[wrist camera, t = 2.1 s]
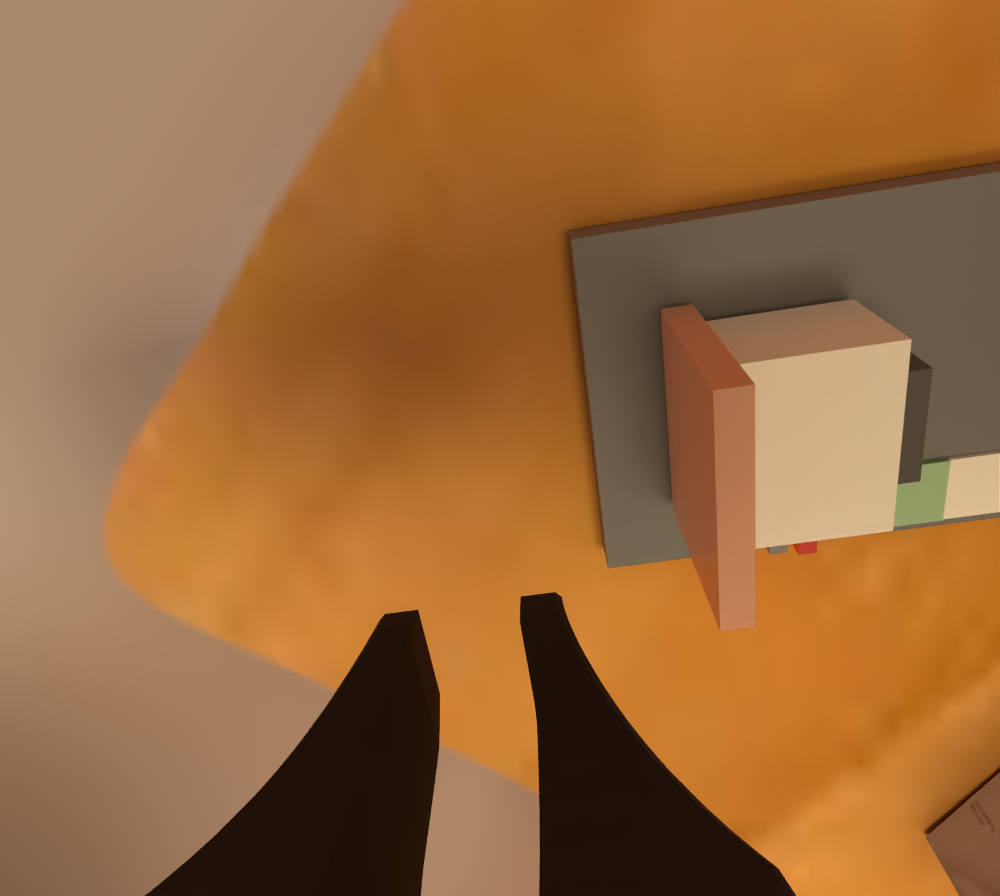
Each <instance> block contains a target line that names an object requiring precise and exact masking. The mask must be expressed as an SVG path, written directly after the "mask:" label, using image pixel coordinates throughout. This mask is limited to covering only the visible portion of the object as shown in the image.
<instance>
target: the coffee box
mask: <svg viewBox="0 0 1000 896" xmlns="http://www.w3.org/2000/svg"><path fill="white" fill-rule="evenodd" d="M927 840H928V842H929V843H930V845H931V847H932V849H933V851H934V853H935V854H936V856H937V857H938V859H939V861H940V863H941V864H942V866H943V868H944V870H945V871H946V873H947V875H948V877H949V878H950V880H951V882H952V884H953V886H954V887H955V889H956V891H957V893H958V894H959V896H1000V772H999V773H998V774H997V775H996V776H995V777H993V778H992V779H991V780H990V781H989V782H988V783H987V784H985V785H984V786H983V787H982V788H981V789H980V790H979V791H977V792H976V793H975V794H974V795H973V796H972V797H971V798H969V799H968V800H967V801H966V802H965V803H964V804H963V805H961V806H960V807H959V808H958V809H957V810H956V811H955V812H954V813H952V814H951V815H950V816H949V817H948V818H947V819H946V820H944V821H943V822H942V823H941V824H940V825H939V826H937V827H936V828H935V829H934V830H933V831H932V832H931V833H930V834H928V835H927Z"/></svg>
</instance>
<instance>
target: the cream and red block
mask: <svg viewBox="0 0 1000 896" xmlns="http://www.w3.org/2000/svg"><path fill="white" fill-rule="evenodd" d="M661 325H662V342H663V358H664V375H665V391H666V407H667V424H668V440H669V457H670V473H671V490H672V506H673V511H674V514H675V517H676V519H677V522H678V524H679V527H680V529H681V532H682V535H683V537H684V540H685V542H686V545H687V547H688V550H689V552H690V555H691V558H692V560H693V563H694V565H695V568H696V570H697V573H698V576H699V578H700V581H701V583H702V586H703V588H704V591H705V594H706V596H707V599H708V601H709V604H710V606H711V609H712V612H713V614H714V617H715V619H716V622H717V624H718V627H719V630H720V631H726V630H734V629H742V628H750V627H756V549H758V548H767V550H768V552H769V554H777V553H785V552H788V545H789V544H796V543H804V542H812V541H819V540H827V539H835V538H842V537H850V536H858V535H866V534H873V533H881V532H889V531H893V526H894V516H895V506H896V495H897V485H898V484H905V483H912V482H919V481H920V479H921V470H922V462H923V453H924V444H925V435H926V426H927V417H928V408H929V399H930V391H931V382H932V373H933V368H932V367H931V366H929V365H928V364H927V363H925V362H924V361H923V360H921V359H920V358H918V357H917V356H916V355H914V354H913V353H911V352H910V351H911V341H912V339H911V338H909V337H908V336H906V335H905V334H903V333H902V332H900V331H899V330H898V329H896V328H895V327H893V326H892V325H890V324H889V323H887V322H886V321H885V320H883V319H882V318H880V317H879V316H877V315H876V314H874V313H873V312H872V311H870V310H869V309H867V308H866V307H864V306H863V305H861V304H860V303H859V302H857V301H856V300H854V299H851V300H844V301H838V302H831V303H824V304H818V305H811V306H804V307H798V308H791V309H784V310H778V311H771V312H764V313H758V314H751V315H744V316H738V317H731V318H724V319H718V320H711V321H705V320H704V318H703V317H702V316H701V314H700V313H699V312H698V311H697V309H696V308H695V307H694V306H693V304H691V305H684V306H677V307H671V308H664V309H661Z"/></svg>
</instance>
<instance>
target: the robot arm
mask: <svg viewBox="0 0 1000 896" xmlns="http://www.w3.org/2000/svg"><path fill="white" fill-rule="evenodd" d="M520 625H521V630H522V636H523V641H524V647H525V652H526V658H527V663H528V669H529V674H530V680H531V685H532V691H533V696H534V702H535V709H536V718H537V733H538V762H539V804H540V885H539V889H540V890H539V892H540V893H539V896H796V895H795V893H794V892H793V890H792V889H791V887H790V886H789V884H788V883H787V881H786V880H785V878H784V877H783V875H782V874H781V872H780V871H779V869H778V868H777V867H776V866H775V865H773V864H772V863H771V862H769V861H768V860H767V859H766V858H764V857H763V856H762V855H761V854H759V853H758V852H757V851H755V850H754V849H753V848H752V847H751V846H749V845H748V844H747V843H746V842H745V841H743V840H742V839H741V838H740V837H739V836H737V835H736V834H735V833H734V832H733V831H731V830H730V829H729V828H728V827H727V826H726V825H725V824H724V823H723V822H721V821H720V820H719V819H718V818H717V817H716V816H715V815H714V814H713V813H712V812H710V811H709V810H708V809H707V808H706V807H705V806H704V805H703V804H702V803H701V802H700V801H699V800H698V799H697V798H696V797H695V796H694V795H693V794H692V793H691V792H690V791H689V790H688V789H687V788H686V787H685V786H684V785H683V784H682V783H681V782H680V781H679V780H678V779H677V778H676V777H675V776H674V775H673V774H672V773H671V772H670V771H669V770H668V768H667V767H666V766H665V765H664V764H663V763H662V762H661V761H660V759H659V758H658V757H657V756H656V755H655V754H654V753H653V751H652V750H651V749H650V748H649V747H648V746H647V744H646V743H645V742H644V741H643V739H642V738H641V737H640V736H639V734H638V733H637V732H636V731H635V730H634V728H633V727H632V726H631V724H630V723H629V722H628V720H627V719H626V718H625V716H624V715H623V714H622V712H621V711H620V709H619V708H618V707H617V705H616V704H615V702H614V701H613V699H612V698H611V696H610V695H609V693H608V692H607V690H606V689H605V687H604V686H603V684H602V683H601V681H600V680H599V678H598V676H597V675H596V673H595V671H594V669H593V668H592V666H591V664H590V663H589V661H588V659H587V657H586V656H585V654H584V652H583V650H582V648H581V646H580V645H579V643H578V641H577V638H576V636H575V634H574V632H573V630H572V628H571V625H570V623H569V621H568V618H567V615H566V612H565V609H564V606H563V602H562V597H561V596H560V595H558V594H557V593H555V592H553V593H546V594H538V595H530V596H522V597H521V603H520ZM439 730H440V693H439V689H438V685H437V681H436V677H435V673H434V669H433V666H432V662H431V658H430V654H429V650H428V646H427V643H426V639H425V635H424V631H423V627H422V623H421V620H420V616H419V612H418V610H413V611H406V612H398V613H390V614H385V615H384V616H383V617H382V618H381V620H380V621H379V623H378V625H377V626H376V628H375V630H374V631H373V633H372V635H371V636H370V638H369V640H368V642H367V643H366V645H365V647H364V648H363V650H362V652H361V653H360V655H359V657H358V658H357V660H356V661H355V663H354V665H353V666H352V668H351V670H350V671H349V673H348V674H347V676H346V677H345V679H344V680H343V682H342V683H341V685H340V686H339V688H338V689H337V691H336V692H335V694H334V696H333V697H332V699H331V700H330V702H329V703H328V705H327V706H326V707H325V709H324V710H323V712H322V713H321V714H320V716H319V717H318V718H317V720H316V721H315V722H314V724H313V725H312V727H311V728H310V729H309V731H308V732H307V733H306V735H305V736H304V738H303V739H302V740H301V742H300V743H299V744H298V745H297V747H296V748H295V749H294V750H293V752H292V753H291V754H290V756H289V757H288V758H287V759H286V761H285V762H284V763H283V764H282V765H281V766H280V768H279V769H278V770H277V771H276V772H275V773H274V775H273V776H272V777H271V778H270V779H269V780H268V781H267V783H266V784H265V785H264V786H263V787H262V789H261V790H259V792H258V793H257V794H256V795H255V796H254V797H253V798H252V799H251V800H250V801H249V802H248V803H247V804H246V805H245V806H244V807H243V808H242V809H241V810H240V811H239V812H238V813H237V814H236V815H235V816H234V817H233V818H232V819H231V820H230V821H229V822H228V823H227V824H226V825H225V826H224V827H223V828H222V829H221V830H220V831H219V832H218V833H217V834H216V835H215V836H214V837H213V838H212V839H211V840H210V841H209V842H207V843H206V844H205V845H204V846H203V847H202V848H201V849H200V850H199V851H198V852H196V853H195V854H194V855H193V856H192V857H191V858H190V859H189V860H188V861H186V862H185V863H184V864H183V865H182V866H180V867H179V868H178V869H177V870H176V871H174V872H173V873H172V874H171V875H170V876H169V877H167V878H166V879H165V880H164V881H163V882H161V883H160V884H159V885H158V886H156V887H155V888H154V889H153V890H152V891H151V892H149V893H148V894H146V895H145V896H421V886H422V875H423V866H424V859H425V851H426V844H427V843H426V842H427V836H428V829H429V821H430V814H431V805H432V799H433V792H434V784H435V776H436V769H437V760H438V752H439Z"/></svg>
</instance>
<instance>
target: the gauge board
mask: <svg viewBox="0 0 1000 896" xmlns="http://www.w3.org/2000/svg"><path fill="white" fill-rule="evenodd" d="M568 235H569V244H570V253H571V261H572V270H573V279H574V288H575V297H576V306H577V315H578V323H579V332H580V341H581V350H582V359H583V368H584V377H585V386H586V394H587V403H588V412H589V421H590V430H591V439H592V448H593V456H594V465H595V474H596V483H597V492H598V501H599V510H600V518H601V527H602V536H603V545H604V552H605V556H606V561H607V565H608V568H613V567H621V566H628V565H636V564H644V563H651V562H659V561H667V560H675V559H682V558H690V557H691V555H690V552H689V550H688V547H687V545H686V542H685V540H684V537H683V535H682V532H681V529H680V527H679V524H678V522H677V519H676V517H675V514H674V511H673V506H672V490H671V473H670V457H669V440H668V424H667V407H666V391H665V375H664V358H663V342H662V325H661V309H664V308H671V307H677V306H684V305H691V304H693V306H694V307H695V308H696V309H697V311H698V312H699V313H700V314H701V316H702V317H703V318H704V320H705V321H711V320H718V319H724V318H731V317H738V316H744V315H751V314H758V313H764V312H771V311H778V310H784V309H791V308H798V307H804V306H811V305H818V304H824V303H831V302H838V301H844V300H851V299H854V300H856V301H857V302H859V303H860V304H861V305H863V306H864V307H866V308H867V309H869V310H870V311H872V312H873V313H874V314H876V315H877V316H879V317H880V318H882V319H883V320H885V321H886V322H887V323H889V324H890V325H892V326H893V327H895V328H896V329H898V330H899V331H900V332H902V333H903V334H905V335H906V336H908V337H909V338H911V339H912V341H911V351H910V352H911V353H913V354H914V355H916V356H917V357H918V358H920V359H921V360H923V361H924V362H925V363H927V364H928V365H929V366H931V367H932V368H933V373H932V382H931V391H930V399H929V408H928V417H927V426H926V435H925V444H924V453H923V462H922V470H921V479H920V481H919V482H912V483H905V484H898V485H897V495H896V506H895V516H894V526H893V531H898V530H905V529H913V528H921V527H928V526H936V525H944V524H951V523H959V522H967V521H975V520H982V519H990V518H998V517H1000V162H997V163H991V164H985V165H978V166H972V167H966V168H960V169H953V170H947V171H941V172H934V173H928V174H922V175H916V176H909V177H903V178H897V179H890V180H884V181H878V182H872V183H865V184H859V185H853V186H847V187H840V188H834V189H828V190H821V191H815V192H809V193H803V194H796V195H790V196H784V197H777V198H771V199H765V200H759V201H752V202H746V203H740V204H734V205H727V206H721V207H715V208H708V209H702V210H696V211H690V212H683V213H677V214H671V215H664V216H658V217H652V218H646V219H639V220H633V221H627V222H621V223H614V224H608V225H602V226H595V227H589V228H583V229H577V230H570V231H568ZM889 532H890V531H889ZM881 533H882V532H881ZM873 534H875V533H873ZM866 535H867V534H866ZM858 536H859V535H858ZM850 537H851V536H850ZM842 538H844V537H842ZM835 539H836V538H835ZM827 540H828V539H827ZM819 541H821V540H819ZM789 545H790V544H789ZM758 549H759V548H758Z"/></svg>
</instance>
